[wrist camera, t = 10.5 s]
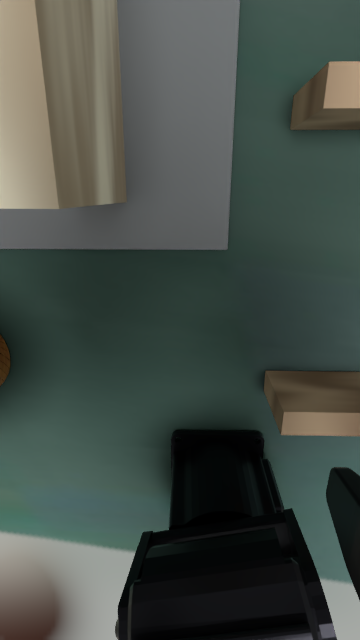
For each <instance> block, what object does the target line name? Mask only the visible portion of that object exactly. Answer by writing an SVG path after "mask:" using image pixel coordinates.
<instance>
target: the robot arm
mask: <svg viewBox="0 0 360 640" xmlns="http://www.w3.org/2000/svg"><path fill="white" fill-rule="evenodd" d="M176 437H180V438H181V439H176ZM257 438H258V440H255V439H257ZM263 449H264V438H263V435H262V434H261V433H260V432H240V431H175V432H173V433H172V436H171V468H172V484H171V502H170V519H169V530H165V531H159V532H153V531H147V532H143V533H142V536H141V539H140V542H139V545H138V547H137V550H136V553H135V556H134V559H133V562H132V565H131V568H130V572H129V574H128V577H127V581H126V584H125V587H124V590H123V593H122V596H121V599H120V602H119V605H118V620H117V622H116V626H115V633H116V637H117V639H118V640H337V638H336V634H335V630H334V626H333V623H332V619H331V615H330V612H329V608H328V605H327V602H326V599H325V595H324V592H323V589H322V586H321V582H320V579H319V576H318V573H317V570H316V568H315V565H314V562H313V560H312V557H311V555H310V552H309V550H308V547H307V545H306V542H305V540H304V537H303V535H302V532H301V530H300V527H299V525H298V522H297V520H296V517H295V515H294V512H293V510H292V508H291V509H285V510H284V506H283V503H282V500H281V497H280V493H279V490H278V487H277V484H276V480H275V477H274V474H273V471H272V467H271V464H270V462H269V461H268V460H267V459H262V458H263ZM326 499H327V503H328V506H329V510H330V513H331V517H332V520H333V523H334V527H335V530H336V533H337V537H338V540H339V544H340V547H341V550H342V554H343V557H344V560H345V563H346V566H347V569H348V572H349V575H350V577H351V580H352V582H353V585H354V587H355V590H356V592H357V594H358V597H359V600H360V476H359V475H358V474H356V473H355V472H354V471H353V470H351V469H349V468H345V467H334V468H332V469H331V471H330V475H329V480H328V485H327V490H326Z"/></svg>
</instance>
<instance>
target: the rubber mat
mask: <svg viewBox="0 0 360 640" xmlns="http://www.w3.org/2000/svg"><path fill="white" fill-rule="evenodd" d="M239 8H240V0H117V12H118V32H119V53H120V73H121V94H122V115H123V135H124V156H125V176H126V197H127V202H124V203H114V204H104V205H94V206H84V207H74V208H64V209H0V249H144V250H227V249H228V229H229V209H230V189H231V169H232V149H233V129H234V109H235V89H236V69H237V49H238V28H239Z"/></svg>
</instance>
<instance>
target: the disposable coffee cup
mask: <svg viewBox="0 0 360 640" xmlns="http://www.w3.org/2000/svg"><path fill="white" fill-rule="evenodd" d="M9 369H10V354H9V350H8V347H7V345H6V343H5V341H4V339H3V338H2V337H1V335H0V386H1V385H2V383H3V382H4V381H5V380H6V378H7V376H8V374H9Z"/></svg>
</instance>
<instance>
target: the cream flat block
mask: <svg viewBox="0 0 360 640" xmlns="http://www.w3.org/2000/svg"><path fill="white" fill-rule="evenodd" d="M124 202H127V197H126V176H125V156H124V135H123V115H122V94H121V73H120V53H119V32H118V12H117V0H0V209H64V208H74V207H84V206H94V205H104V204H114V203H124Z"/></svg>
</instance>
